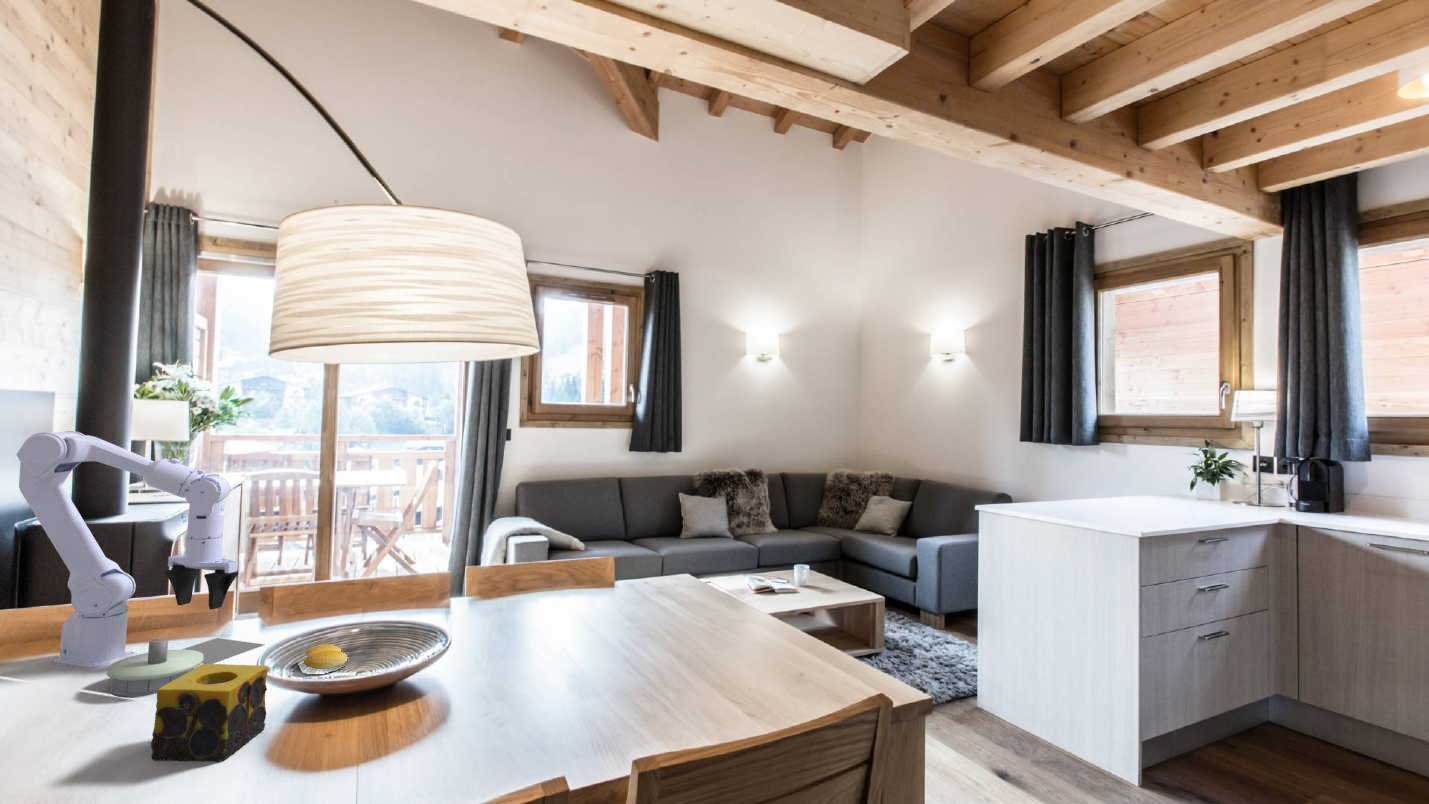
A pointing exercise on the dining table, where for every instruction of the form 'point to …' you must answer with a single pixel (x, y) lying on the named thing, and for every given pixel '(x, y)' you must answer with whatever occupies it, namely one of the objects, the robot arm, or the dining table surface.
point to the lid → (155, 663)
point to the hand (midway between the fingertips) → (199, 606)
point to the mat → (222, 649)
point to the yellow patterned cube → (209, 712)
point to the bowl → (140, 685)
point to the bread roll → (325, 657)
